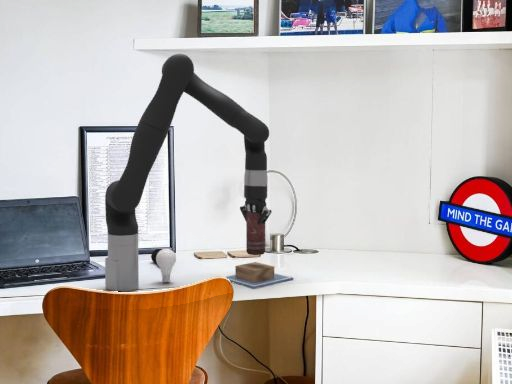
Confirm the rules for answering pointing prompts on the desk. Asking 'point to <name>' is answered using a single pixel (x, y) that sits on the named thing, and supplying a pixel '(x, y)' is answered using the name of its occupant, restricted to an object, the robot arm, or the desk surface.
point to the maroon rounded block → (254, 234)
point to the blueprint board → (277, 279)
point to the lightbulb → (166, 263)
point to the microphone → (155, 255)
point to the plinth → (254, 272)
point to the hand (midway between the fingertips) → (255, 236)
